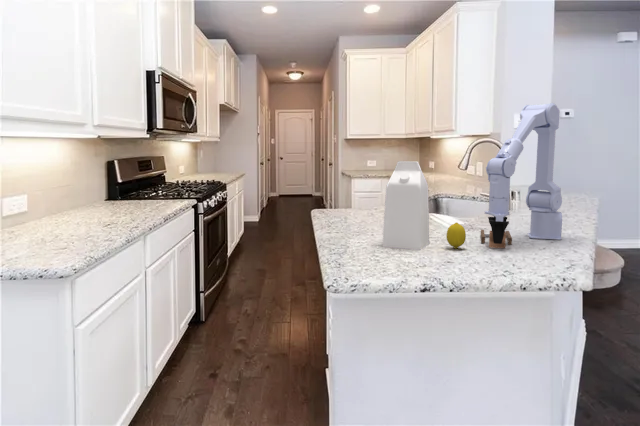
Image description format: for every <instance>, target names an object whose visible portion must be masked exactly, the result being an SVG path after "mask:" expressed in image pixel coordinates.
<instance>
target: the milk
mask: <svg viewBox="0 0 640 426" xmlns="http://www.w3.org/2000/svg"><path fill="white" fill-rule="evenodd" d="M429 202H430V201H429V184H428V182H427V179H426V177H425V174H424V172H423V171H422V168H421V166H420V162H419V161H413V160H412V161H411V160H410V161H409V160H408V161H407V160H406V161H404V160H403V161H397V163H396V165H395V168H394V170H393V172H392V174H391V175H390V177H389V179H388V182H387V185H386V188H385V199H384V213H383V214H384V216H383V228H382V246H381V247H382V248H390V249H391V248H392V249H393V248H394V249H402V250H403V249H406V250H415V251H421V249H422V250H423V249H424V248H425V247H426V246H428V245H429V244H430V213H429V212H430V208H429V206H430V205H429ZM427 244H428V245H427Z"/></svg>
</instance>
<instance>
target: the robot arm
mask: <svg viewBox="0 0 640 426" xmlns="http://www.w3.org/2000/svg"><path fill="white" fill-rule="evenodd" d="M519 120H520V122H519V123H518V125H517V127H516V129H515V131H514V133H513V135H512V137H511V138H507V139H506V140H505V141H504V143H503V144H502V146H501V148H500V150H499V151H498V152H497V154H496V155H495V157H493V158H491V159H490V160H488V162H487V165H486V167H485V170H486V171H485V172H486V174H487V180H488V182H489V195H488V196H489V197H488V210H484V214H485V215H489V216H488V217H487V218H488V223H489V224H490V228H491V231H492V233H493V241H494V243H495V244H501V243H502V240H503V236H504V232H506V229H507V227H508V225H509V224H510V221H507V220H508V216H509V215H510V211H509V210H510V209H509V208H510V207H509V206H510V189H511V188H510V187H511V177H512V176H513V175H514V174H515V172H516V165H517V160H518V159H519V156H520V155H521V154H522V152H523V150H524V144H523V143H524V142H525V141H526V139H527V138H528V136H529V135H530V134H531V132H533V131H535V133H536V134H537V148H536V149H537V150H536V163H535V164H536V165H535V166H536V167H535V181H534V182H533V183H532V184H531V185H529V186H528V190H527V194H526V196H525V204H526V206H527V208H528V209H529V210H528V211H531V212H530V225H529V226H530V227H529V228H530V229H529V232H527V235H528V237H529V239H538V240H539V239H540V240H541V239H543V240H559V241H560V240H562V229H563V228H562V227H563V214H562V213H563V212H562V211H559V210H560V208H561V207H562V204H563V197H562V192H561V191H562V190H561V186H558V185H557V184H556V183H555V182H554V181H553V179H554V178H553V177H554V164H555V148H556V131H557V130H558V129H559V124H560V109H559V108H558V106H557V105H556V103H555V102H551V103H544V104H543V103H541V104H526V105H524V106H523V107H522V109H521V111H520V112H519Z"/></svg>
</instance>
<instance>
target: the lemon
mask: <svg viewBox="0 0 640 426" xmlns="http://www.w3.org/2000/svg"><path fill="white" fill-rule="evenodd" d="M466 239H467V234H466V229H465V227H464V226H463V225H462V224H460V223H458V222H454V223H453V224H451V225H449V227H448V229H447V231H446V241H447V243H448V244H449V246H451V247H453V249H454V250H457V249H458V248H459V247H461V246H463V245H464V243H465V242H466Z"/></svg>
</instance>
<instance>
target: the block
mask: <svg viewBox="0 0 640 426" xmlns="http://www.w3.org/2000/svg"><path fill="white" fill-rule="evenodd" d="M489 234H490V235H489V239H488V246H489V248H492V249H493V248H494V249H497V248H498V249H506V242H507V240H506V231H505V232H504V236H503V240H502V243H501V244H495V243H494V241H493V233H492V230H489Z"/></svg>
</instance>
